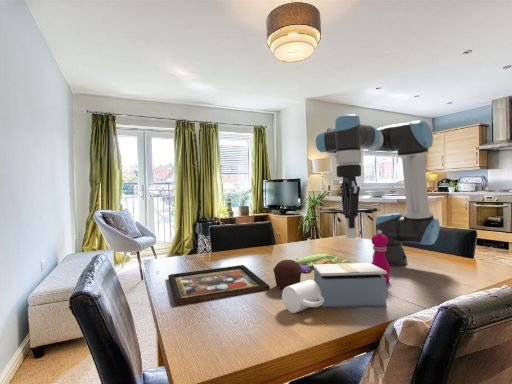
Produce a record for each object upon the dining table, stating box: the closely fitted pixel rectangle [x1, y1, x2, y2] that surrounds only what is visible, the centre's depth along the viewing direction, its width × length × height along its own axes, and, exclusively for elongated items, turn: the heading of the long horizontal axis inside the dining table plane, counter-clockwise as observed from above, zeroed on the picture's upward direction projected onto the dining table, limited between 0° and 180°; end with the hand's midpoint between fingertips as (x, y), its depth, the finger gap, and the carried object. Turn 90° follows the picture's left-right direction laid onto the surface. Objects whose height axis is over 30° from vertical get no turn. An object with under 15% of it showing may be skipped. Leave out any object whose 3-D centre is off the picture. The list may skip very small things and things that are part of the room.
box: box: [313, 267, 387, 309], centre depth 98 cm, size 20×14×9 cm
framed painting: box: [167, 264, 271, 307], centre depth 118 cm, size 38×35×3 cm
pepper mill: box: [371, 230, 391, 283], centre depth 115 cm, size 7×7×20 cm
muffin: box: [272, 259, 303, 291], centre depth 112 cm, size 12×11×10 cm
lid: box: [312, 262, 387, 276], centre depth 98 cm, size 21×14×1 cm
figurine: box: [293, 253, 351, 273], centre depth 136 cm, size 18×27×6 cm
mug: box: [281, 279, 324, 314], centre depth 91 cm, size 12×10×8 cm
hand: (350, 237), depth 94 cm, fingers closed
